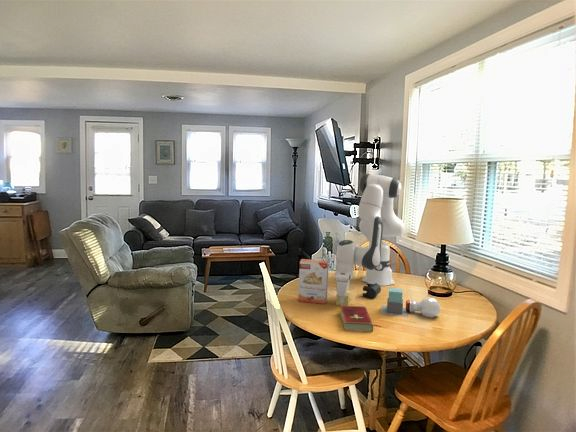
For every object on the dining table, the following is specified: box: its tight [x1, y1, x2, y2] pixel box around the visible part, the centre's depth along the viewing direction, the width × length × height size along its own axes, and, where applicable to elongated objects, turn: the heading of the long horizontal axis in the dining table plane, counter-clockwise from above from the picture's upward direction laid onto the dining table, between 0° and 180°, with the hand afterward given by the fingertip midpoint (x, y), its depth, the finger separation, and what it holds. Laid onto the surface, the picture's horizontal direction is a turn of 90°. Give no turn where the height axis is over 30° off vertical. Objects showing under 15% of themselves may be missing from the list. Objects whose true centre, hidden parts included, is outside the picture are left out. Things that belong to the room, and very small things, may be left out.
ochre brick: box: [335, 291, 351, 306], centre depth 204 cm, size 6×6×5 cm
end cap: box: [362, 283, 382, 300], centre depth 215 cm, size 10×7×7 cm
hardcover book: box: [339, 305, 374, 333], centre depth 181 cm, size 12×21×4 cm, turn 178°
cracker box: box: [297, 258, 330, 305], centre depth 205 cm, size 14×6×21 cm, turn 78°
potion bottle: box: [405, 296, 442, 319], centre depth 189 cm, size 9×10×15 cm
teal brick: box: [387, 287, 403, 303], centre depth 192 cm, size 6×6×5 cm
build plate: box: [380, 305, 409, 318], centre depth 193 cm, size 12×12×1 cm
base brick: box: [386, 297, 404, 314], centre depth 193 cm, size 7×7×5 cm
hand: (343, 300), depth 204 cm, fingers closed on ochre brick, 6 cm apart
